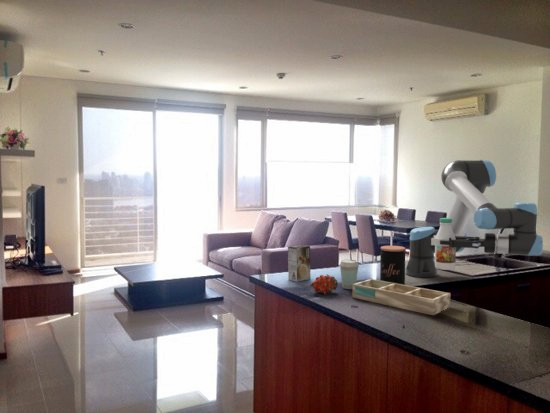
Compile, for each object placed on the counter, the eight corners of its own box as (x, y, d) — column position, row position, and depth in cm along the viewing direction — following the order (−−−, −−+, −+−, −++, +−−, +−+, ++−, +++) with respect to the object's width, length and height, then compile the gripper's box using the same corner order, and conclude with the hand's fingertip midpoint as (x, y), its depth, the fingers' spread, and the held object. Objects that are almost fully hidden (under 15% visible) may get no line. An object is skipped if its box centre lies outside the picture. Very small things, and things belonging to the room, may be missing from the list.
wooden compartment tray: (370, 291, 204) (370, 278, 204) (450, 307, 179) (450, 293, 179) (351, 297, 194) (351, 284, 194) (432, 315, 169) (433, 300, 169)
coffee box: (301, 276, 234) (301, 244, 232) (310, 279, 229) (310, 245, 228) (287, 279, 228) (287, 246, 226) (297, 282, 223) (296, 248, 222)
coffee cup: (358, 290, 206) (358, 263, 205) (338, 289, 208) (338, 262, 207) (359, 285, 215) (359, 259, 214) (340, 284, 216) (340, 258, 215)
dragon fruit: (340, 296, 202) (312, 301, 201) (335, 281, 209) (308, 286, 208) (340, 283, 197) (312, 288, 196) (335, 268, 203) (308, 273, 202)
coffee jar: (375, 287, 210) (375, 247, 209) (387, 283, 218) (388, 244, 217) (397, 291, 203) (397, 250, 202) (409, 287, 211) (409, 247, 210)
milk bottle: (430, 267, 190) (431, 217, 189) (445, 265, 194) (446, 216, 192) (444, 271, 183) (445, 219, 182) (459, 269, 186) (460, 218, 185)
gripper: (495, 257, 171) (429, 253, 181) (495, 249, 190) (435, 245, 199) (496, 237, 171) (429, 233, 180) (495, 230, 189) (435, 228, 199)
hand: (432, 240), depth 190 cm, fingers closed on milk bottle, 7 cm apart
